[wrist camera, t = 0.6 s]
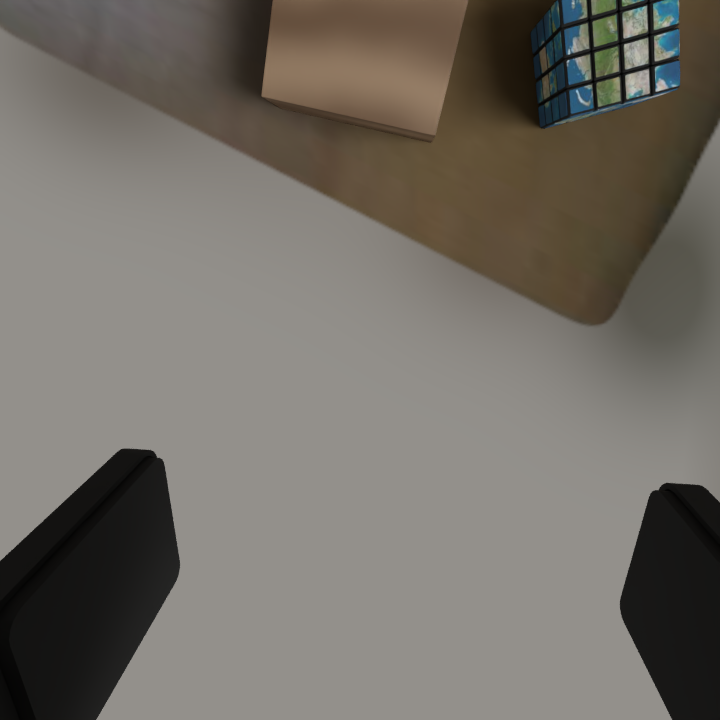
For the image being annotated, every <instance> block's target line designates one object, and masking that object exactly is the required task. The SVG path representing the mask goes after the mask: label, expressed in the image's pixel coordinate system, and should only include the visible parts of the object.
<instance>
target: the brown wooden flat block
mask: <svg viewBox="0 0 720 720" xmlns="http://www.w3.org/2000/svg"><path fill="white" fill-rule="evenodd" d="M467 4H468V0H273V3H272V11H271V20H270V28H269V37H268V45H267V53H266V62H265V70H264V79H263V87H262V97H263V98H265V99H266V100H268V101H269V102H271V103H273V104H274V105H276V106H277V107H279V108H281V109H285V110H290V111H294V112H299V113H303V114H307V115H312V116H316V117H321V118H325V119H330V120H334V121H338V122H343V123H347V124H352V125H356V126H360V127H365V128H369V129H374V130H378V131H383V132H387V133H391V134H396V135H400V136H405V137H409V138H413V139H418V140H422V141H427V142H432V140H433V139H434V137H435V135H436V131H437V126H438V122H439V118H440V114H441V110H442V106H443V102H444V98H445V94H446V90H447V86H448V81H449V77H450V73H451V69H452V65H453V61H454V57H455V53H456V49H457V45H458V41H459V37H460V32H461V28H462V24H463V20H464V16H465V12H466V8H467Z"/></svg>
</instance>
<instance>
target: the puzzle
mask: <svg viewBox="0 0 720 720" xmlns="http://www.w3.org/2000/svg"><path fill="white" fill-rule="evenodd" d="M678 25H679V0H556V1H555V3H554V4H553V5H552V6H551V8H550V9H549V10H548V11H547V12H546V14H545V15H544V16H543V17H542V19H541V20H540V21H539V22H538V24H537V25H536V26H535V27H534V29H533V30H532V31H531V42H532V52H533V54H534V55H536V56H535V57H534V58H533V62H534V72H535V79H536V80H538V81H537V83H536V91H537V101H538V104H539V105H540V106H539V108H538V111H539V121H540V127H541V128H543V129H544V128H548V127H552V126H556V125H560V124H563V123H565V122H566V123H567V122H571V121H575V120H579V119H583V118H586V117H588V116H589V117H590V116H594V115H598V114H602V113H606V112H609V111H613V110H617V109H621V108H625V107H629V106H632V105H635V104H638V103H640V102H643V101H646V100H649V99H651V98H654V97H657V96H660V95H663V94H665V93H668V92H671V91H674V90H677V88H679V86H680V61H679V59H676V58H678V57H679V54H680V48H679V28H675V27H677V26H678ZM674 59H676V60H674ZM672 60H673V61H672ZM541 104H542V105H541Z"/></svg>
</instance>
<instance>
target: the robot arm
mask: <svg viewBox="0 0 720 720" xmlns="http://www.w3.org/2000/svg"><path fill="white" fill-rule="evenodd" d="M179 569H180V560H179V554H178V547H177V541H176V535H175V529H174V522H173V516H172V510H171V503H170V497H169V491H168V484H167V478H166V472H165V466H164V462H163V460H162V459H160V458H157V456H156V454H155V453H154V452H153V451H151V450H141V449H121V450H120V451H118V452H117V453H116V454H115V455H114V456H113V457H111V458H110V459H109V460H108V461H107V462H106V463H105V464H104V465H103V466H102V467H101V468H100V469H99V470H97V471H96V472H95V473H94V474H93V475H92V476H91V477H90V478H89V479H88V480H87V481H86V482H85V483H84V484H82V486H80V488H78V489H77V490H76V491H75V492H74V493H73V494H72V495H71V496H70V497H69V498H67V499H66V500H65V501H64V502H63V503H62V504H61V505H60V506H59V507H58V508H57V509H56V510H55V511H53V512H52V513H51V514H50V515H49V516H48V517H47V518H46V519H45V520H44V521H43V522H42V523H41V524H40V525H38V526H37V527H36V528H35V529H34V530H33V531H32V532H31V533H30V534H29V535H28V536H27V537H26V538H24V539H23V540H22V541H21V542H20V543H19V544H18V545H17V546H16V547H15V548H14V549H13V550H12V551H11V552H9V553H8V555H6V556H5V557H4V558H3V559H2V560H1V561H0V720H96V719H97V717H98V716H99V714H100V712H101V711H102V709H103V707H104V705H105V703H106V702H107V700H108V698H109V697H110V695H111V693H112V691H113V689H114V688H115V686H116V685H117V683H118V681H119V679H120V678H121V676H122V674H123V672H124V671H125V669H126V667H127V665H128V664H129V662H130V660H131V659H132V657H133V655H134V653H135V652H136V650H137V648H138V646H139V645H140V643H141V641H142V639H143V637H144V636H145V634H146V633H147V631H148V629H149V627H150V626H151V624H152V622H153V620H154V619H155V617H156V615H157V613H158V612H159V610H160V608H161V607H162V604H163V603H164V601H165V600H166V598H167V596H168V594H169V593H170V591H171V589H172V588H173V586H174V584H175V582H176V580H177V577H178V574H179ZM620 610H621V615H622V618H623V621H624V623H625V625H626V627H627V629H628V631H629V633H630V635H631V637H632V639H633V641H634V644H635V645H636V648H637V649H638V652H639V653H640V656H641V658H642V660H643V661H644V664H645V666H646V668H647V669H648V672H649V674H650V676H651V678H652V680H653V682H654V684H655V686H656V688H657V690H658V692H659V694H660V696H661V698H662V700H663V702H664V704H665V706H666V708H667V710H668V712H669V714H670V716H671V718H672V720H720V502H719V501H718V500H717V499H716V498H715V497H714V496H713V495H712V494H711V493H710V492H709V491H708V490H707V489H706V488H704V487H703V486H700V485H690V484H675V483H665V484H663V485H662V486H661V487H660V489H659V490H655V491H653V492H652V493H651V494H650V496H649V499H648V503H647V506H646V510H645V513H644V517H643V521H642V525H641V528H640V531H639V535H638V539H637V542H636V546H635V549H634V552H633V556H632V560H631V563H630V567H629V570H628V574H627V577H626V581H625V584H624V588H623V591H622V595H621V599H620Z"/></svg>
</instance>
